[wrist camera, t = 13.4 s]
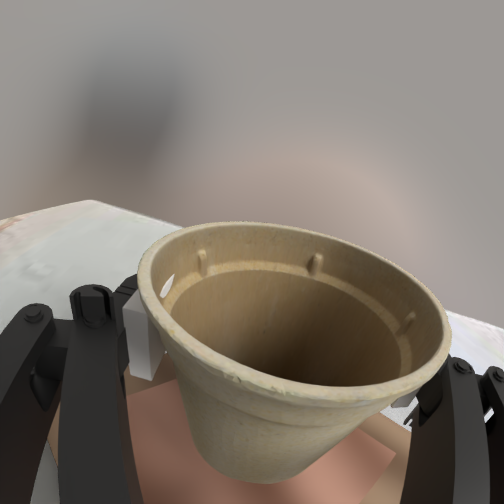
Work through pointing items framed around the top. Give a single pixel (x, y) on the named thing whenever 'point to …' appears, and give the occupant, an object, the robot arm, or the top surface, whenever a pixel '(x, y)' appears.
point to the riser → (241, 492)
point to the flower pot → (285, 340)
